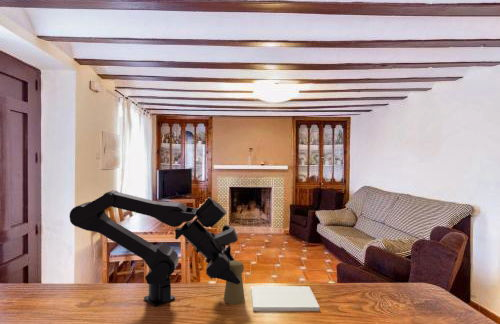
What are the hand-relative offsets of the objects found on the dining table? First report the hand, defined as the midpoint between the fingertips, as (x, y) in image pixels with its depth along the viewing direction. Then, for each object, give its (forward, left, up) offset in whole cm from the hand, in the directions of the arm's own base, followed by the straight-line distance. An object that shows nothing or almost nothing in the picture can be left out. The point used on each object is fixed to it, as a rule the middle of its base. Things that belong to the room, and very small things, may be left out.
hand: (239, 276), depth 95 cm
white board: (+9, +9, -7) cm, 14 cm away
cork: (-1, -1, -7) cm, 7 cm away
